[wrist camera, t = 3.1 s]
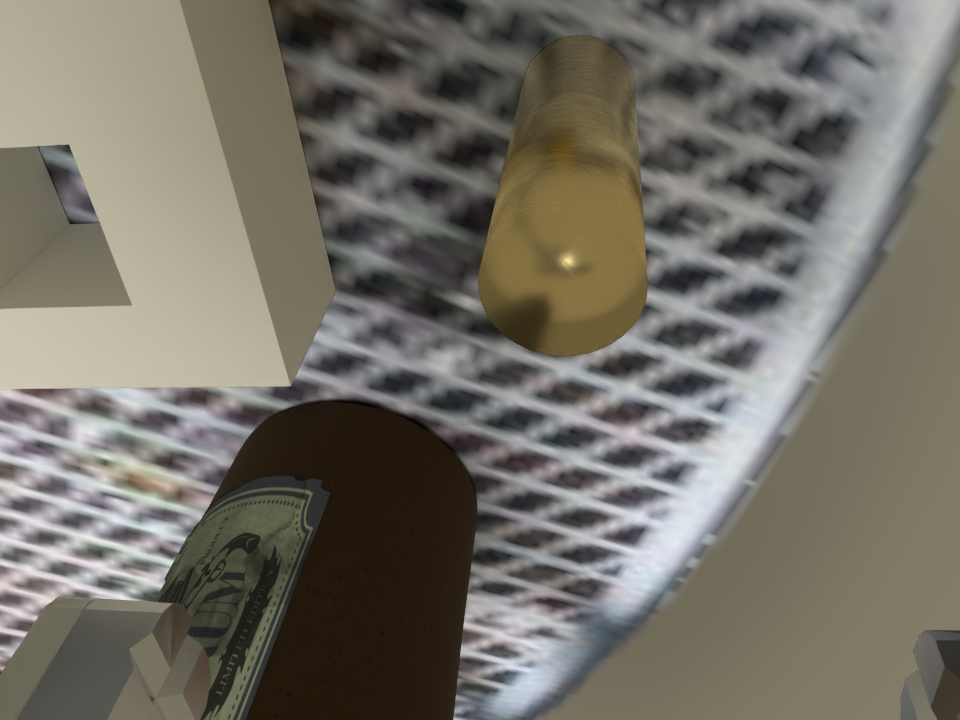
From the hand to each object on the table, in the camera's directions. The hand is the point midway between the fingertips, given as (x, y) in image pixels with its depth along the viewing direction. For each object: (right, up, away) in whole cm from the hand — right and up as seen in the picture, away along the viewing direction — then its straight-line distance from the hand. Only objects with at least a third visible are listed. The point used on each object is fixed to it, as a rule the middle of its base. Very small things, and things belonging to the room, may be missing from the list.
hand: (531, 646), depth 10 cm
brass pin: (+2, +10, +14) cm, 17 cm away
